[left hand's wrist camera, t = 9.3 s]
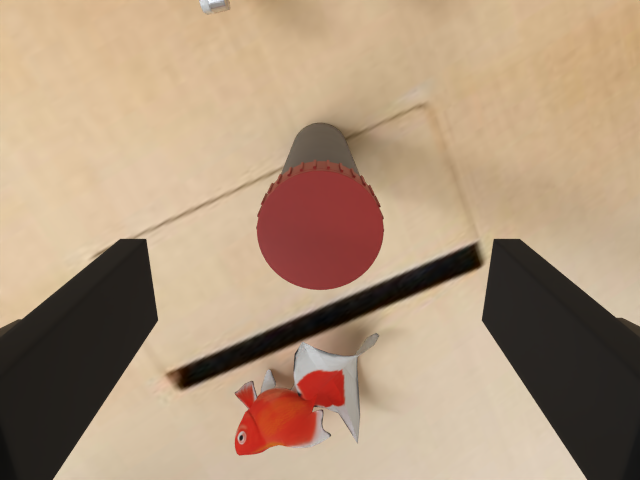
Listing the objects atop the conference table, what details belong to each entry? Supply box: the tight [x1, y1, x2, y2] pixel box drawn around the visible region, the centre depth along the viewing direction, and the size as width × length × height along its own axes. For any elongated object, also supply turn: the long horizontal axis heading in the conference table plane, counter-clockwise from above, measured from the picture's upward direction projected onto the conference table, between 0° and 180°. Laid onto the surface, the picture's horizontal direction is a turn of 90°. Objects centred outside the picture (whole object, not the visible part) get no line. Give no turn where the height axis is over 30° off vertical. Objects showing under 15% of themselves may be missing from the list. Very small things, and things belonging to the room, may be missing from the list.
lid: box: [256, 160, 384, 290], centre depth 18 cm, size 5×5×2 cm
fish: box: [235, 333, 379, 455], centre depth 39 cm, size 11×16×10 cm
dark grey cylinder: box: [281, 123, 360, 176], centre depth 27 cm, size 4×4×20 cm
